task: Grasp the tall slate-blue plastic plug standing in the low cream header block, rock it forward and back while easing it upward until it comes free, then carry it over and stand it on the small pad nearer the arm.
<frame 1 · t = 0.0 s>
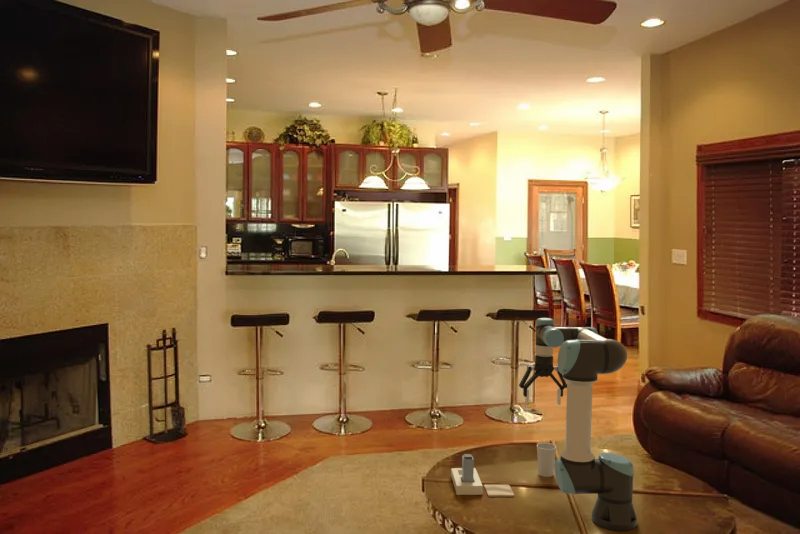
hand: (542, 404, 277), 28 cm above the table, fingers open, 13 cm apart
plug: (467, 488, 258), resting in header
header: (466, 485, 261), on the table
cup: (545, 474, 273), on the table
pad: (498, 491, 255), on the table
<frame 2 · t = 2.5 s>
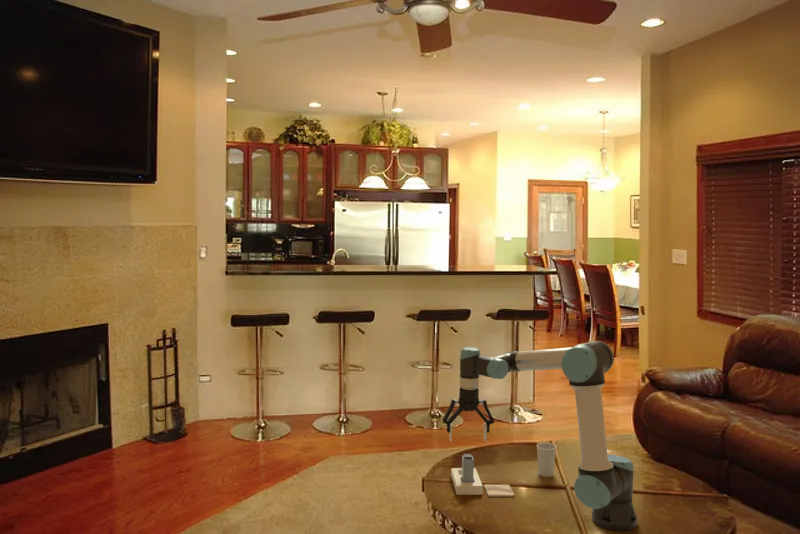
hand: (467, 440, 256), 19 cm above the table, fingers open, 13 cm apart
nothing on the table moved.
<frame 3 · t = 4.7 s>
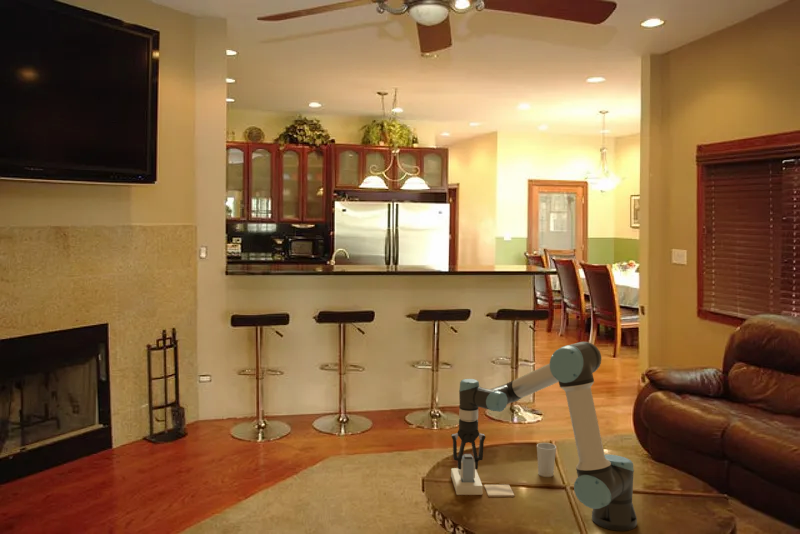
hand: (467, 476, 257), 5 cm above the table, fingers closed on plug, 4 cm apart
plug: (467, 488, 258), resting in header, touching gripper
everything else where it was.
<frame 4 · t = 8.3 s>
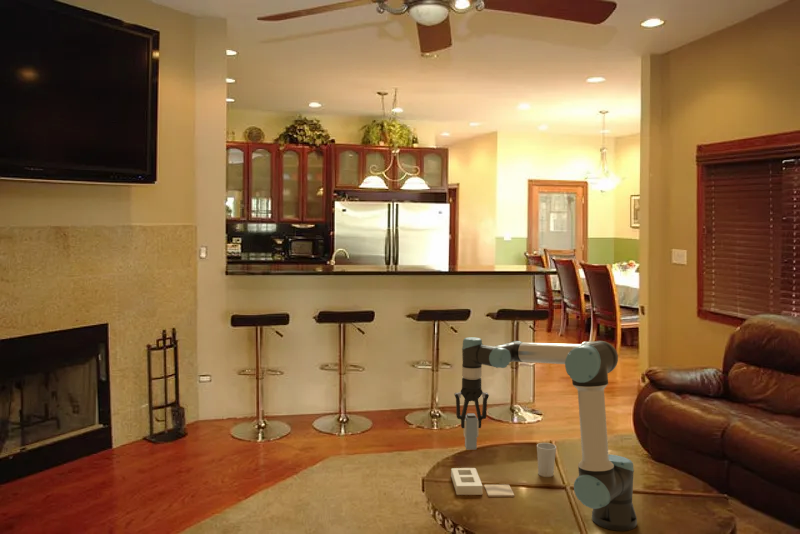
hand: (470, 435, 256), 21 cm above the table, fingers closed on plug, 4 cm apart
plug: (470, 447, 256), point 17 cm above the table, touching gripper
everything else where it was.
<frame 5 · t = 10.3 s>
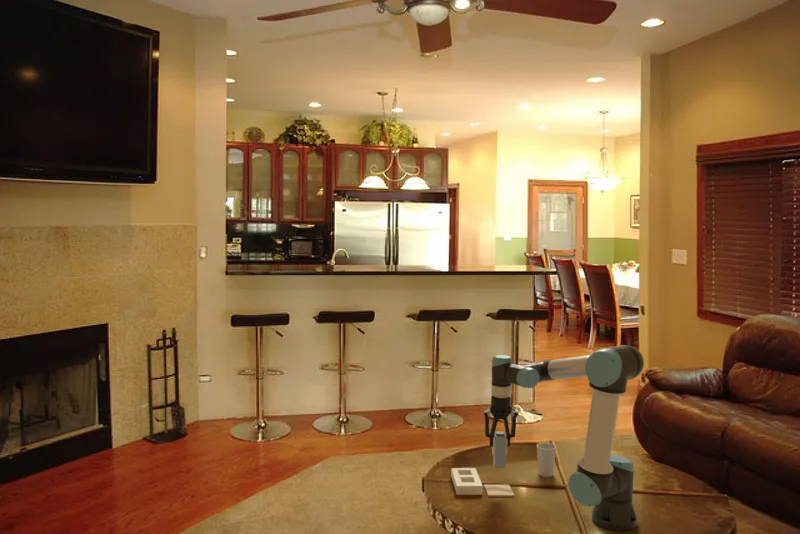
hand: (499, 454, 254), 15 cm above the table, fingers closed on plug, 4 cm apart
plug: (499, 465, 255), point 10 cm above the table, touching gripper
everything else where it was.
when the fingers open (6 cm above the table, at t = 12.0 s): plug stays where it is, resting on pad.
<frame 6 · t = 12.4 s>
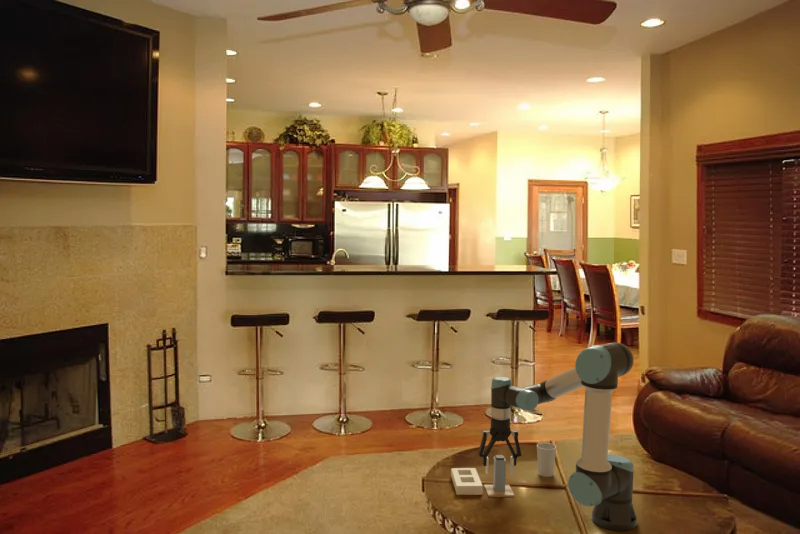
hand: (499, 473, 255), 7 cm above the table, fingers open, 9 cm apart
plug: (499, 489, 255), point 1 cm above the table, touching pad
everything else where it was.
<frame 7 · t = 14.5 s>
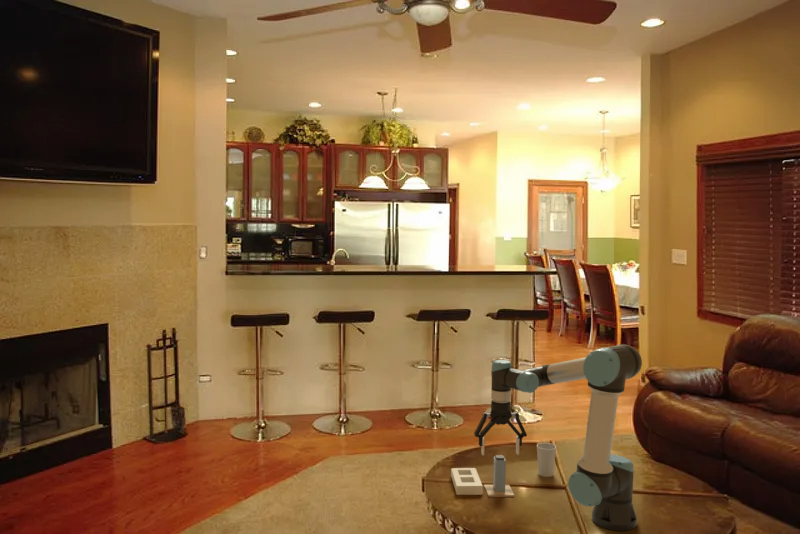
hand: (500, 454, 254), 15 cm above the table, fingers open, 13 cm apart
nothing on the table moved.
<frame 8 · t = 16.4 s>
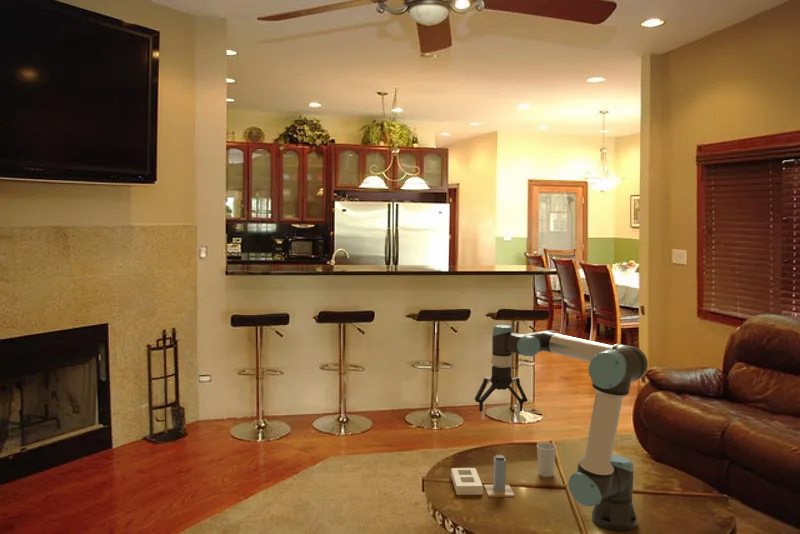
hand: (500, 419, 253), 29 cm above the table, fingers open, 13 cm apart
nothing on the table moved.
at the end: plug touching pad; plug inside the target area on the pad (0.1 cm from its centre), point 0.6 cm above the pad's base; plug tilted 0° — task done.
